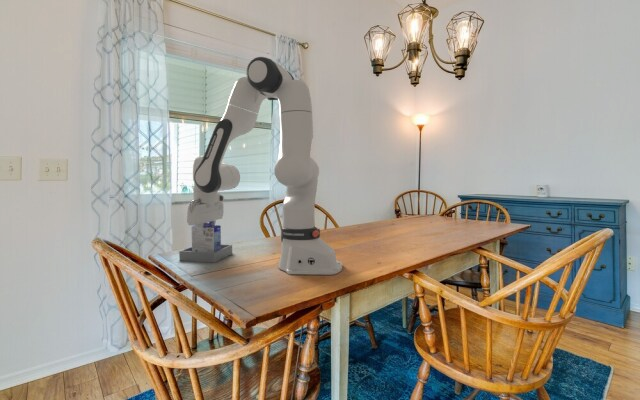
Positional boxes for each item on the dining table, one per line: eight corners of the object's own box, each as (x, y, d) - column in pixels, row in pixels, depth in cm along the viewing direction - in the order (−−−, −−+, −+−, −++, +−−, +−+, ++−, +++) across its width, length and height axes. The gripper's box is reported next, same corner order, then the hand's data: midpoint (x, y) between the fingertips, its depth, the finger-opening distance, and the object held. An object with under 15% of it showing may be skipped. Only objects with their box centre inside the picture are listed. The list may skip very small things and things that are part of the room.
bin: (232, 253, 136) (232, 245, 136) (214, 262, 122) (213, 253, 122) (200, 251, 139) (200, 243, 139) (179, 260, 125) (179, 251, 125)
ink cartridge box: (222, 255, 132) (221, 219, 131) (215, 259, 127) (214, 221, 125) (199, 254, 134) (198, 218, 133) (191, 257, 129) (190, 220, 127)
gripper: (197, 200, 118) (198, 239, 119) (226, 196, 138) (226, 229, 139) (181, 200, 119) (182, 238, 120) (212, 196, 139) (212, 229, 140)
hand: (206, 233), depth 130 cm, fingers closed on ink cartridge box, 5 cm apart
